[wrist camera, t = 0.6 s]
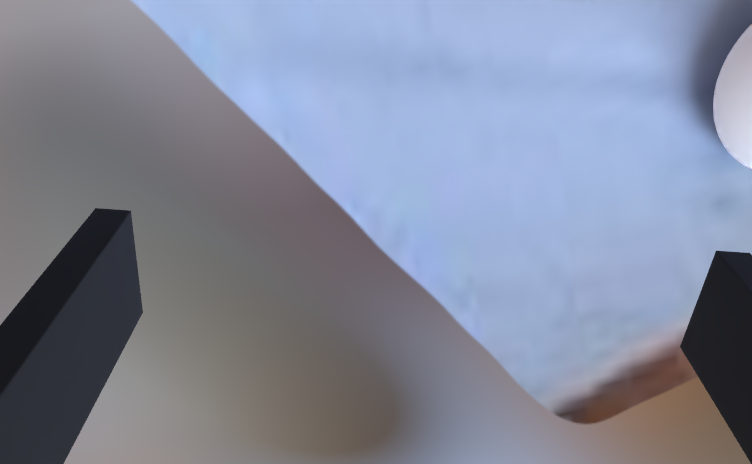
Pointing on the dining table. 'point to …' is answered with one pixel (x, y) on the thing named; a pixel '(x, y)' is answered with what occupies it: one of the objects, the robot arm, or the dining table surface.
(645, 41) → the dining table surface
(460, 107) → the dining table surface
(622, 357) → the dining table surface
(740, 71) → the flower in vase
